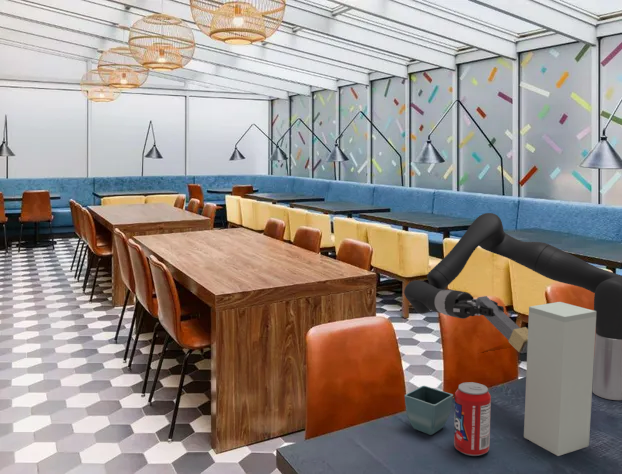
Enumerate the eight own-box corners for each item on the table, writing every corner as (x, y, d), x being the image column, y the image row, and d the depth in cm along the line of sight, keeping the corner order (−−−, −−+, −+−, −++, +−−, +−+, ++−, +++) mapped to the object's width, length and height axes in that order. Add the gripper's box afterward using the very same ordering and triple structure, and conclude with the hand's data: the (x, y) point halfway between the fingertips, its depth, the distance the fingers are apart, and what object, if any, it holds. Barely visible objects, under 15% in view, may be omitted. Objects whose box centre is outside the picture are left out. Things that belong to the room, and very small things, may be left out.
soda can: (487, 461, 128) (489, 396, 126) (451, 454, 131) (452, 391, 129) (490, 445, 135) (492, 383, 133) (456, 439, 138) (457, 378, 136)
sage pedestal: (553, 428, 143) (559, 301, 139) (588, 446, 134) (596, 311, 130) (523, 437, 139) (529, 306, 134) (558, 456, 130) (564, 316, 125)
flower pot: (453, 428, 144) (454, 394, 142) (434, 441, 137) (435, 405, 136) (422, 418, 150) (423, 384, 148) (403, 430, 143) (403, 395, 142)
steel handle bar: (484, 304, 158) (488, 292, 156) (532, 351, 143) (538, 338, 142) (472, 306, 156) (477, 294, 154) (520, 353, 142) (526, 341, 140)
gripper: (473, 313, 169) (518, 322, 154) (434, 319, 163) (477, 329, 148) (472, 287, 169) (517, 294, 153) (433, 293, 163) (476, 300, 147)
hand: (497, 311), depth 151 cm, fingers closed on steel handle bar, 3 cm apart
